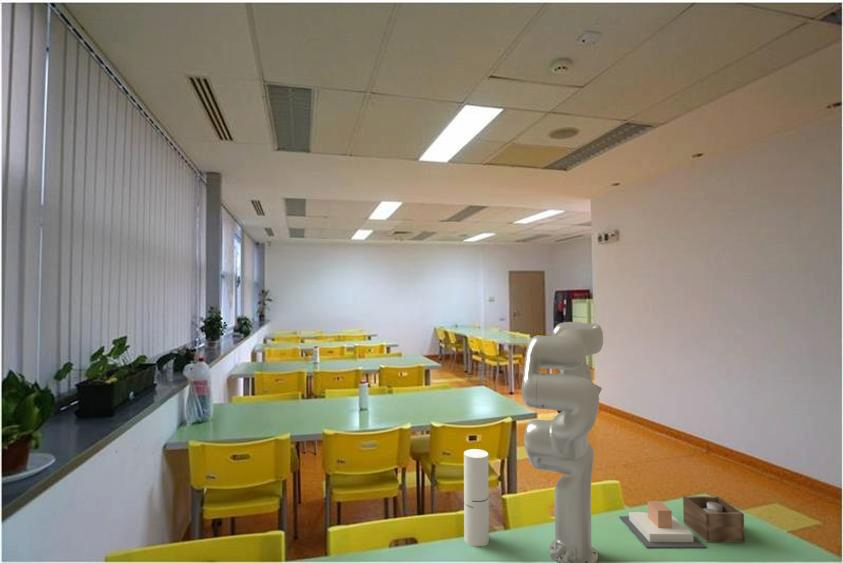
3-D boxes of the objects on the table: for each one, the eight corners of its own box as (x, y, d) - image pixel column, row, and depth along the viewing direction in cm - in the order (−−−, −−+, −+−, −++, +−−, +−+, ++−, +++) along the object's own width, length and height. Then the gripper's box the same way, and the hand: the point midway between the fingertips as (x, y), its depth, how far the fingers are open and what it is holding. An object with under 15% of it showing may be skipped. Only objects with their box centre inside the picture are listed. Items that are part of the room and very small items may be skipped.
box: (706, 541, 126) (706, 513, 127) (683, 522, 137) (683, 496, 138) (744, 541, 127) (743, 513, 127) (718, 522, 138) (717, 496, 138)
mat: (646, 548, 123) (646, 546, 123) (619, 517, 140) (619, 516, 140) (706, 547, 124) (706, 546, 124) (671, 517, 140) (671, 516, 140)
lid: (649, 542, 126) (649, 516, 126) (629, 519, 138) (628, 496, 139) (693, 542, 126) (693, 516, 126) (668, 519, 138) (668, 496, 139)
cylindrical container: (488, 548, 124) (487, 458, 124) (463, 545, 125) (462, 456, 126) (489, 534, 131) (488, 449, 131) (465, 531, 132) (465, 448, 133)
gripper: (550, 362, 138) (551, 416, 138) (605, 361, 138) (606, 416, 138) (544, 358, 146) (544, 410, 145) (596, 358, 146) (596, 410, 145)
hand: (574, 413), depth 141 cm, fingers open, 9 cm apart
